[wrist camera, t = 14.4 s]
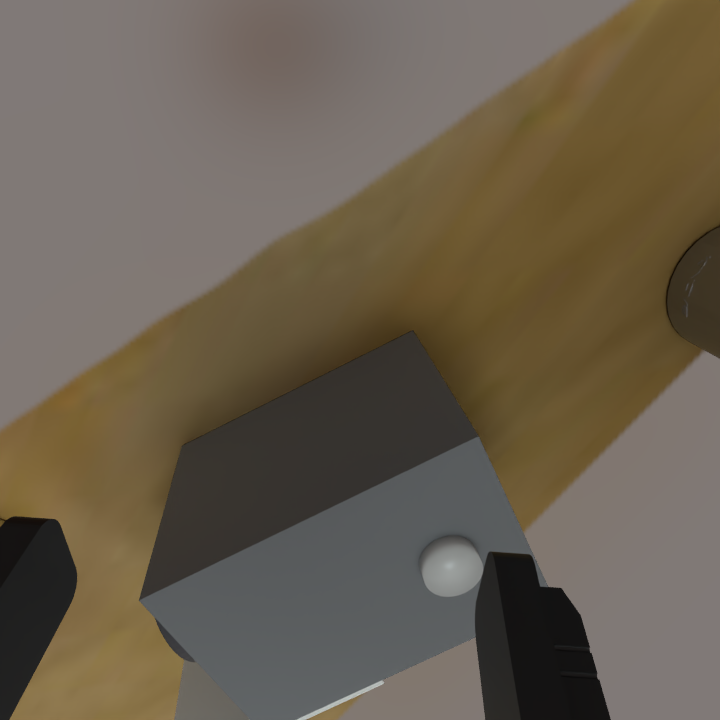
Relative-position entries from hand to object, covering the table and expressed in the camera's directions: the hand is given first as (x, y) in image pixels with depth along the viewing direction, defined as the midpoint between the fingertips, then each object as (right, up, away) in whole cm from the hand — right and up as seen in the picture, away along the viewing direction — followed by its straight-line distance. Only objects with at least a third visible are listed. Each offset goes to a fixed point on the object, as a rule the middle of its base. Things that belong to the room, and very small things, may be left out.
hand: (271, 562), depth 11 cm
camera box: (-1, -4, +32) cm, 32 cm away
